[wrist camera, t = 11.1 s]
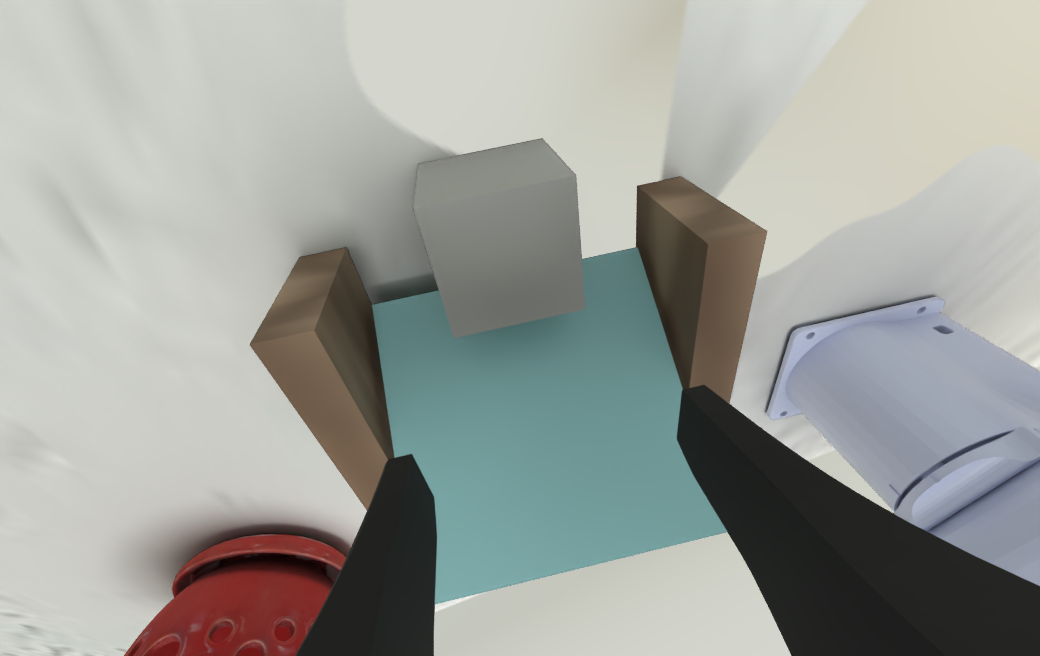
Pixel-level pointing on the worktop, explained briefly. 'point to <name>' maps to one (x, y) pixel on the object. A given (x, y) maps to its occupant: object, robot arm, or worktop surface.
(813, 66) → the worktop surface
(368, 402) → the hatch stand
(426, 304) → the hatch flap
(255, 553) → the plant pot
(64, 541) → the worktop surface
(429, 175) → the granite block
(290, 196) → the worktop surface
